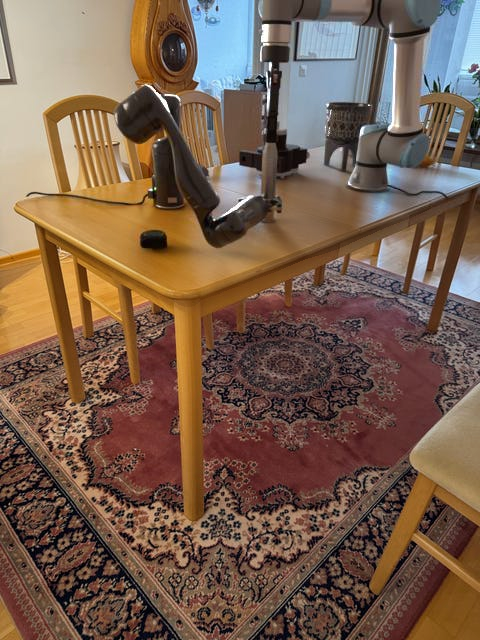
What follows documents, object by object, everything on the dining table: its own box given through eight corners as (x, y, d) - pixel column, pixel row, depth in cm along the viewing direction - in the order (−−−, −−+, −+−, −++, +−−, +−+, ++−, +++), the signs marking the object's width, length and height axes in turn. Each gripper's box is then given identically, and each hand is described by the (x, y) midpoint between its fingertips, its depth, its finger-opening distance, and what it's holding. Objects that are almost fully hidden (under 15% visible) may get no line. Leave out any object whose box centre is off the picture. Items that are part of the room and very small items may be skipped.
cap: (277, 142, 126) (278, 134, 125) (262, 141, 127) (263, 134, 126) (278, 140, 130) (278, 132, 129) (263, 139, 130) (264, 131, 129)
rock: (201, 174, 190) (201, 158, 187) (214, 178, 185) (214, 162, 181) (174, 179, 183) (173, 162, 179) (187, 183, 177) (186, 166, 174)
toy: (409, 160, 208) (403, 153, 221) (411, 174, 211) (405, 166, 224) (434, 152, 205) (427, 146, 218) (436, 166, 208) (429, 159, 221)
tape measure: (140, 252, 115) (139, 238, 113) (141, 242, 120) (140, 229, 119) (167, 251, 116) (166, 237, 114) (167, 241, 121) (166, 228, 120)
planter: (313, 167, 208) (319, 103, 195) (331, 160, 222) (338, 101, 209) (353, 173, 199) (362, 107, 185) (369, 166, 213) (379, 104, 199)
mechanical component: (240, 120, 182) (283, 115, 202) (239, 174, 192) (280, 164, 212) (283, 126, 170) (325, 120, 190) (280, 183, 180) (320, 171, 200)
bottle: (257, 220, 139) (260, 135, 127) (264, 217, 142) (268, 133, 130) (269, 223, 137) (273, 136, 125) (276, 219, 140) (281, 135, 128)
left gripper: (275, 202, 121) (294, 188, 135) (226, 195, 126) (249, 182, 139) (273, 229, 125) (292, 212, 138) (226, 222, 129) (248, 206, 143)
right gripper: (260, 45, 124) (256, 136, 136) (262, 43, 109) (258, 146, 121) (287, 45, 124) (281, 137, 136) (293, 44, 109) (286, 146, 121)
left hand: (270, 197), depth 139 cm, fingers closed on bottle, 4 cm apart
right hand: (270, 141), depth 128 cm, fingers closed on cap, 4 cm apart
